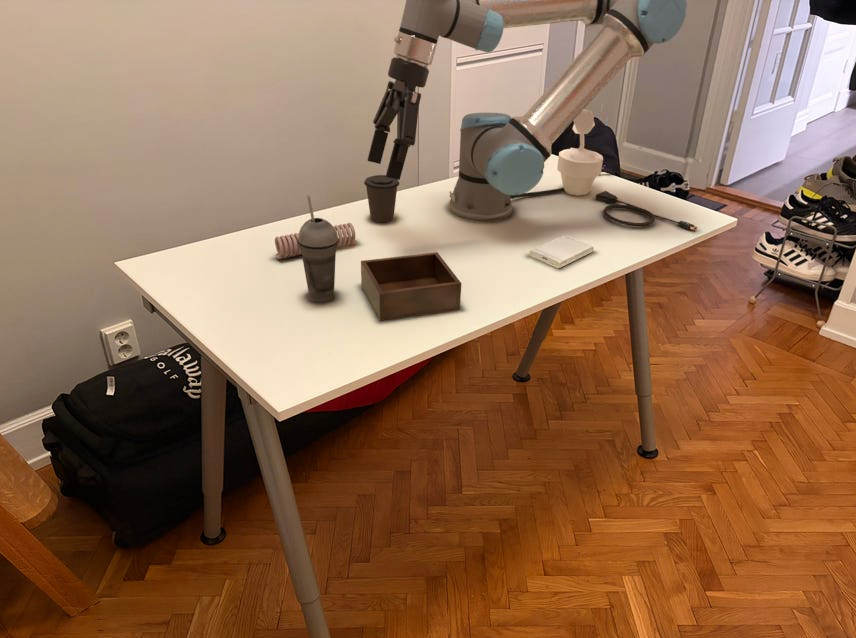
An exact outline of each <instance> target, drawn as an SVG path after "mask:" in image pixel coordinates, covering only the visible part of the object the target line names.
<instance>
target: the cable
mask: <svg viewBox="0 0 856 638" xmlns="http://www.w3.org/2000/svg"><path fill="white" fill-rule="evenodd" d="M595 201H600V202H603V203H606V204H609V205H606V206H605V207H604V208H603V209H602V215H603V216H604V217H605V218H607V219H608V220H610V221H612V222H615V223H618V224H621V225H624V226H629V227H641V228H642V227H643V228H644V227H648V226H652V225H654V223H655V222H656V219H657V218H658V219H662V220H665V221H668V222H671V223H675V224H677V225H678V226H679V227H681V228H684V229H686V230H689V231H691V230H692V231H694V230H697V229H698V226H696V225H694V224H692V223H690V222H687V221H683V220H680V221H677V220H674V219H670V218H667V217H664V216H660V215H656V214H654V213H653V212H651V211H650V210H648V209H645V208H643V207H640V206H637V205H634V204H631V203H628V202H625V201H621V200H619V198H618V196H617V195H615V194H613V193H610V192H608V191H607V190H603V191H601V192H597V193H595ZM616 203H617V204H616ZM618 203H619V204H618ZM615 209H620V210H627V211H632V212H635V213H638V214H642V215H644V216H646V217H647V218H648V220H647V221H643V222H633V221H628V220H627V221H626V220H623V219H620V218H617V217H615V216H613V215H611V214H610V213H609V211H610V210H615Z"/></svg>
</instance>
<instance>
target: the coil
mask: <svg viewBox="0 0 856 638" xmlns="http://www.w3.org/2000/svg"><path fill="white" fill-rule="evenodd" d="M332 226H333V225H332ZM333 227H334V229H335V231H336V233H337V237H338V243H337V248H340V247H345V246H349V245H351V246H352V245H356V244H357V239H356V230H355V229H356V228H355V227H354V225H353V224H352V223H351V222H347V223H340V224H335V225H334V226H333ZM298 238H299V232H294V233H290V234H285V235H280V236H275V237H274V244H275V245H274V246H275V249H276V252H277V254H276V255H275V258H276V259H277V260H282V259H287V258H291V257H296V256H298V257H299V256H302V253H301V251H300V247H299V244H298Z"/></svg>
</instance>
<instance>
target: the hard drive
mask: <svg viewBox="0 0 856 638" xmlns="http://www.w3.org/2000/svg"><path fill="white" fill-rule="evenodd" d="M593 252H594V246H593V245H592V244H590V243H587V242H584V241H581V240H579V239H576V238H574V237H571V236H569V235H566V234H564V235H562V236H559V237H557V238H555V239H553V240H550V241H548V242H546V243H544V244H541V245H539V246H536V247H535V248H533V249H531V250H530V251H529V256H530V258H533V259H535V260H537V261H539V262H542V263H545V264H547V265H548V266H551V267H554V268H556V269H560V268H562V267H565V266H567V265H568V264H571V263H573V262H574V261H577V260H579V259H581V258H583V257H585V256H587V255H589V254H591V253H593Z"/></svg>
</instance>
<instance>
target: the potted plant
mask: <svg viewBox="0 0 856 638" xmlns="http://www.w3.org/2000/svg"><path fill="white" fill-rule="evenodd" d="M603 103H604V102H602V104H601V106H603ZM600 110H601V111H600V112H602V111H603V108H601V109H600ZM608 117H609V116H608V115H607V117H606V118H605V119H606V120H605V121H606V123H607V122H608V121H609V119H608ZM603 120H604V119H602V123H603V122H604V121H603ZM572 122H573V126H572V131H573V132H574V134H575V135H579V147H578V148H575V147H570V148H567V149H563V150H561V151H559V152H558V158H557V165H556V167H557V171H558V172H559V173H560V177H561V183H562V188H564V191H563V192H565V193H566V194H568V195H571V196H577V197H580V196H584V195H586V194H588V193H589V192H590V190H591V188H592V186H593V184H594V182H595V180H596V178H597V177H598V176H600V175H602V172H601V169H603V163H604V157H603V155H602V154H600V153H598V152H597V151H593V150H590V149H587V148H585V135H588V134H589V133H590V132H591V131H592V129H593V128H594V127H595V125H596V124H595V117H594V112H593V111H592V110H589V109H583V111H582V112H581V113H580V114H579V115H578V116H577V117H576V118H575V119H574V120H573V121H572Z"/></svg>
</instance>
